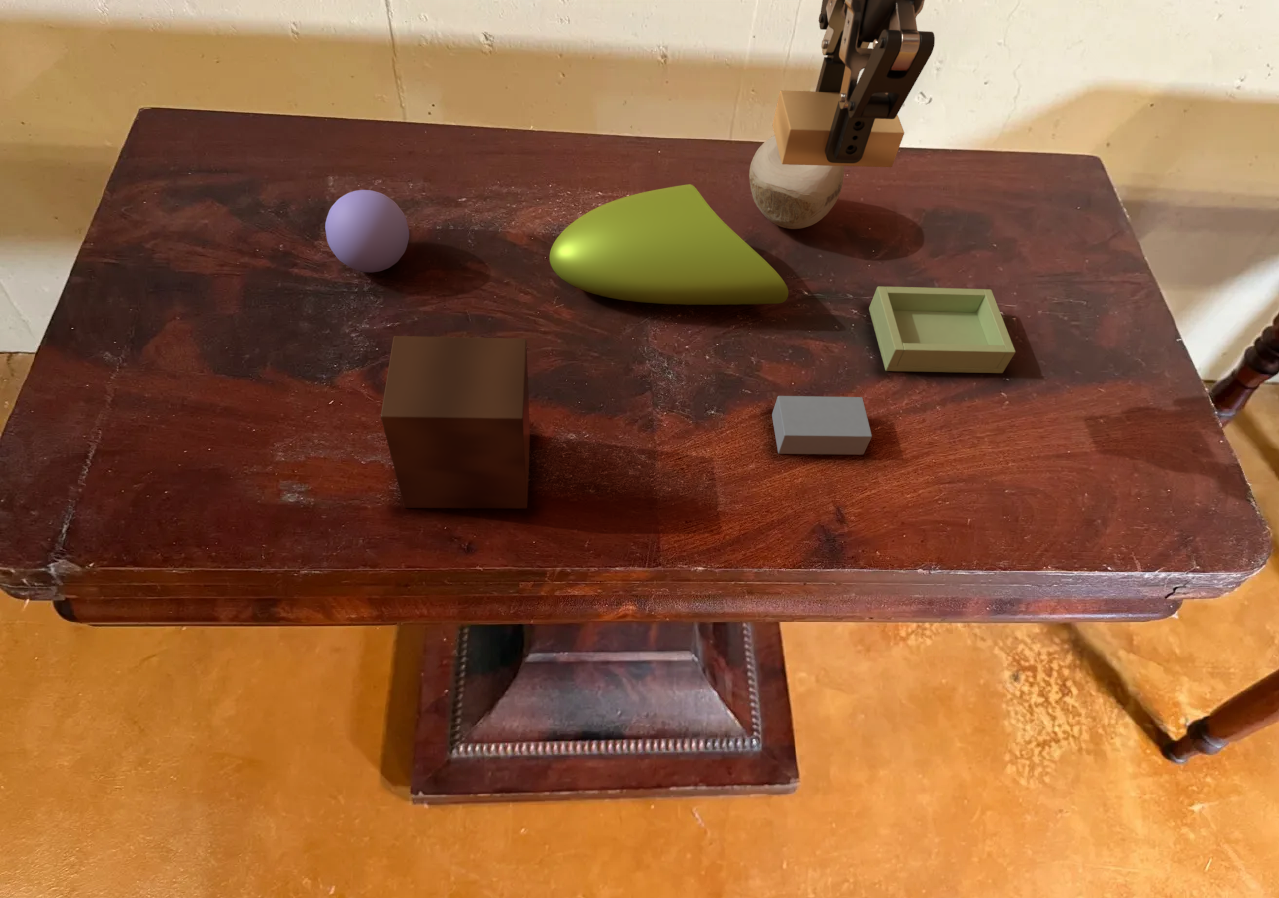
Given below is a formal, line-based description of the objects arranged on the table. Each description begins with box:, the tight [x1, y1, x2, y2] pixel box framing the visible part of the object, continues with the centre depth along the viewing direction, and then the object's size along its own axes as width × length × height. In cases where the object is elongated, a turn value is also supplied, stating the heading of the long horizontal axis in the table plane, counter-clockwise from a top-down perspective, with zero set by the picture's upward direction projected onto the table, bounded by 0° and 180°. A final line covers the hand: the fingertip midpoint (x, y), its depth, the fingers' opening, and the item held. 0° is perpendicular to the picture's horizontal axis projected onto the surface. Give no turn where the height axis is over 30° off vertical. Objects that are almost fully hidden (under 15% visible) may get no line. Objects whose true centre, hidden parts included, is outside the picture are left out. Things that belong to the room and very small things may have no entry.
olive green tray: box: [868, 285, 1016, 374], centre depth 78 cm, size 11×8×3 cm
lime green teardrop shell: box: [549, 183, 789, 306], centre depth 78 cm, size 8×12×20 cm
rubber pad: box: [771, 395, 873, 456], centre depth 71 cm, size 7×4×2 cm, turn 92°
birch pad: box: [772, 90, 905, 168], centre depth 55 cm, size 7×4×2 cm, turn 93°
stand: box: [380, 335, 531, 510], centre depth 63 cm, size 9×7×11 cm
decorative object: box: [748, 134, 845, 230], centre depth 84 cm, size 9×9×10 cm
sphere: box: [324, 189, 410, 273], centre depth 77 cm, size 7×7×7 cm
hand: (834, 135), depth 55 cm, fingers closed on birch pad, 4 cm apart
